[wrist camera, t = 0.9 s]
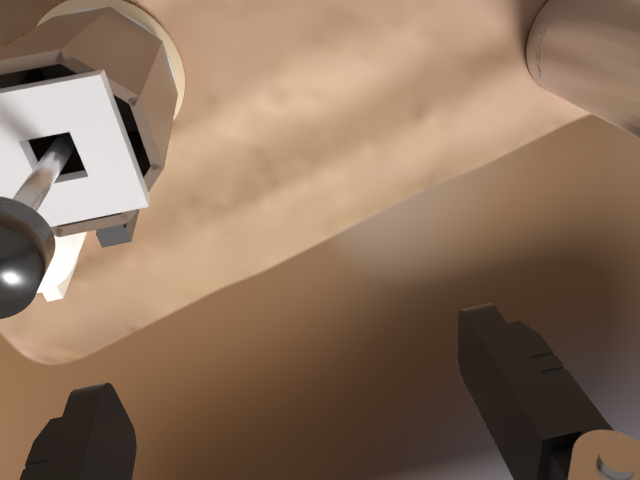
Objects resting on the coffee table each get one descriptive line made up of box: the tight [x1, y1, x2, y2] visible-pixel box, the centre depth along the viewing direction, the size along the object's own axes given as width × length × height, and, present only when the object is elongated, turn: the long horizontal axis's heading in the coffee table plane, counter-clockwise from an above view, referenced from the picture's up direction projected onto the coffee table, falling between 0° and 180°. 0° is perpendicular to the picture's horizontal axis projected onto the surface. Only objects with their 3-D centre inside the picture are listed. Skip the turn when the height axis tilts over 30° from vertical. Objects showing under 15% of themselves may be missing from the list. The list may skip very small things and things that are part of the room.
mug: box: [37, 232, 87, 302], centre depth 40 cm, size 8×10×9 cm
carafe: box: [0, 0, 185, 248], centre depth 33 cm, size 11×13×16 cm
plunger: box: [0, 132, 76, 319], centre depth 24 cm, size 4×4×17 cm
